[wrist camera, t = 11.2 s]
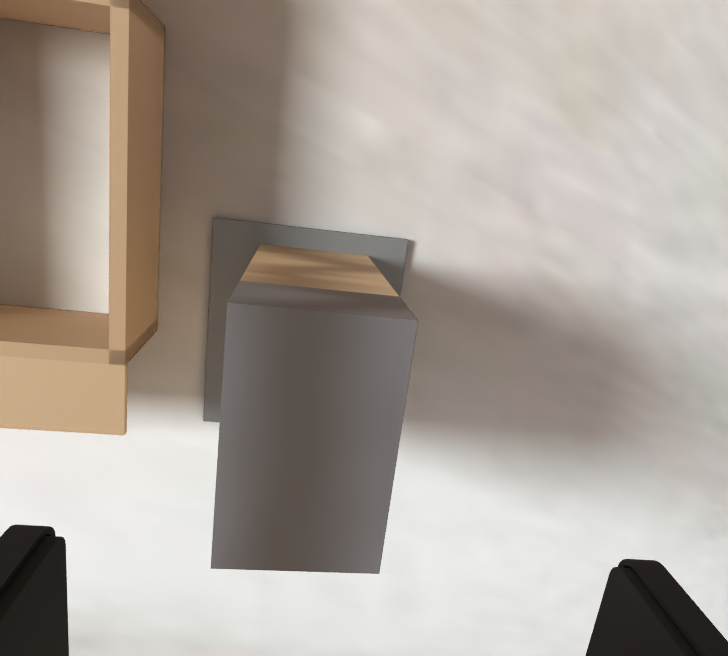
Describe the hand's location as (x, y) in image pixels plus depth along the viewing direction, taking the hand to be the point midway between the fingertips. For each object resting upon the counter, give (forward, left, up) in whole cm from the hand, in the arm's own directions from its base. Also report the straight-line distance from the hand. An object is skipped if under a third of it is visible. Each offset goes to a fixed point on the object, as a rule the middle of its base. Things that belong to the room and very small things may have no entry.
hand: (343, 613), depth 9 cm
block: (0, 0, -18) cm, 18 cm away
